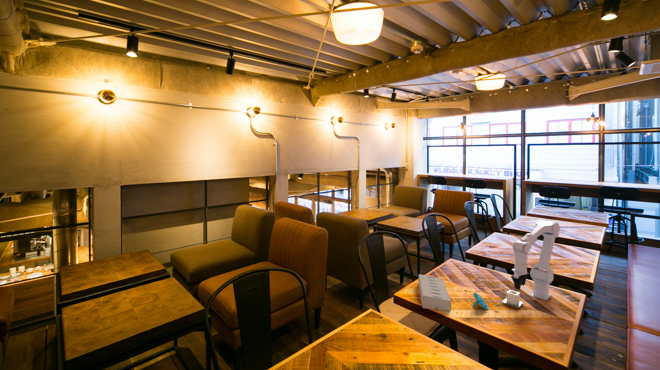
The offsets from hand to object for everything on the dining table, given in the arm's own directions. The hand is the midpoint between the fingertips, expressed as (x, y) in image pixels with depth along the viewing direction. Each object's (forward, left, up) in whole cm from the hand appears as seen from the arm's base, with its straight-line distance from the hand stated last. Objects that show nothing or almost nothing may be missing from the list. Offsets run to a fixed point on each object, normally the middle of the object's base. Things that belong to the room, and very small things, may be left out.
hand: (519, 287), depth 162 cm
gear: (+19, -13, -10) cm, 25 cm away
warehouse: (+26, -37, -10) cm, 46 cm away
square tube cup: (+2, -2, -9) cm, 9 cm away
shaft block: (+2, -3, -10) cm, 10 cm away
